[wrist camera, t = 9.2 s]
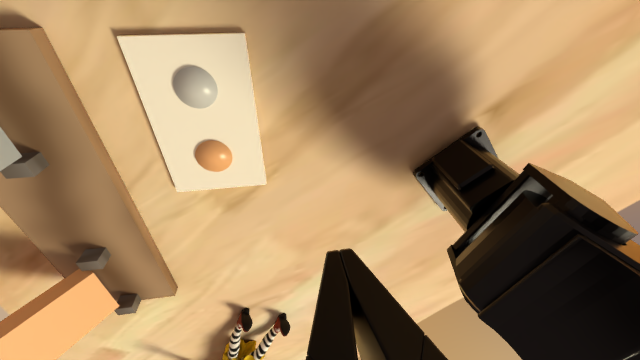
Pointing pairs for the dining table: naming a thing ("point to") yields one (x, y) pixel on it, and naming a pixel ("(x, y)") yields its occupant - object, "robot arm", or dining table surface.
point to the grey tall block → (7, 151)
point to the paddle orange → (56, 318)
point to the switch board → (70, 178)
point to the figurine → (245, 356)
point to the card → (199, 106)
